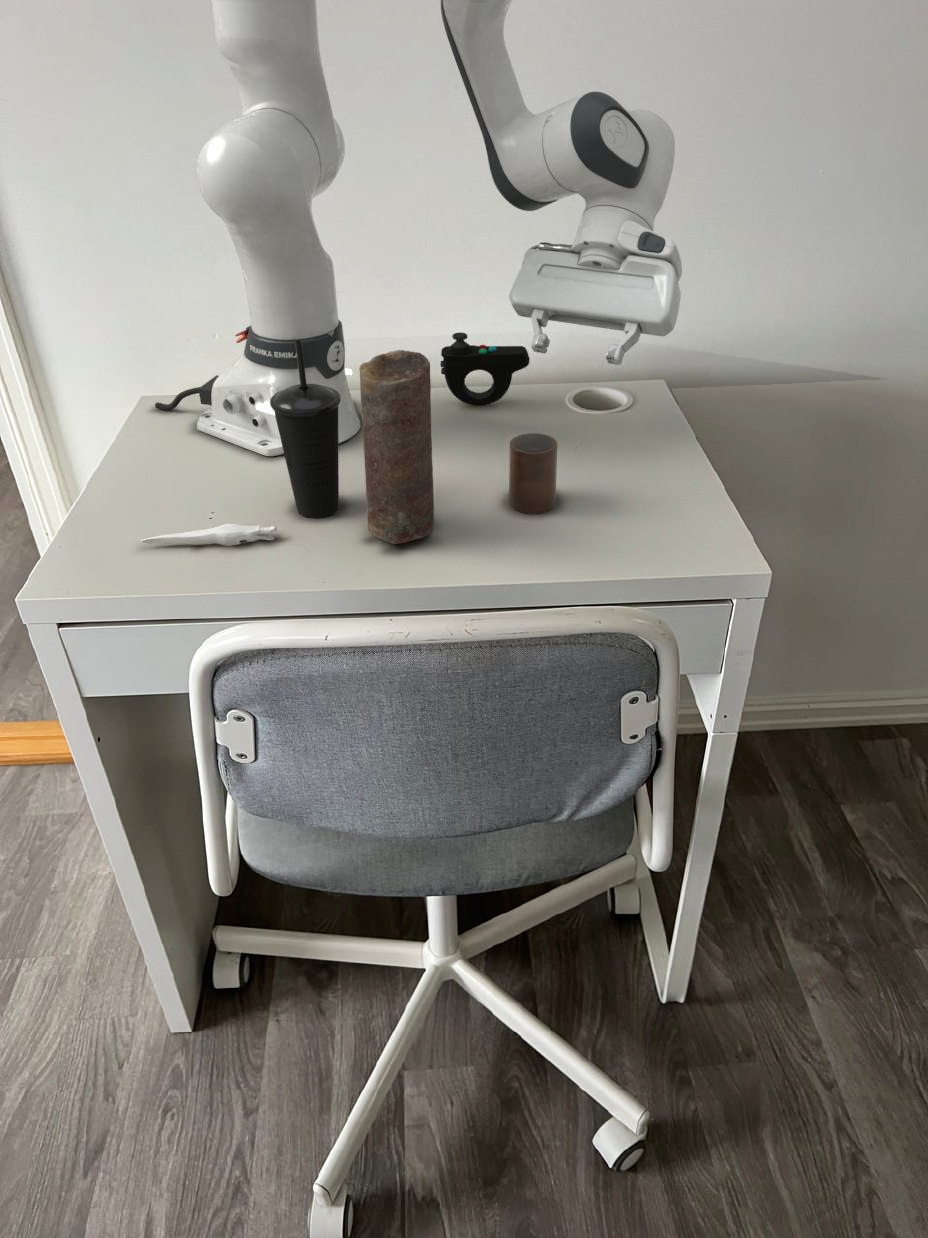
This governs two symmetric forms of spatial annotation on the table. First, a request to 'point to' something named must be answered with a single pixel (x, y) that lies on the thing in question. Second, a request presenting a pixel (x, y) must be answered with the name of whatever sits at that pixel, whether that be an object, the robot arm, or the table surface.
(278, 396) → the drinking cup
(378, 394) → the brown stone cylinder
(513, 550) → the table surface
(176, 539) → the white toy lizard
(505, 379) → the controller
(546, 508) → the pencil cup
